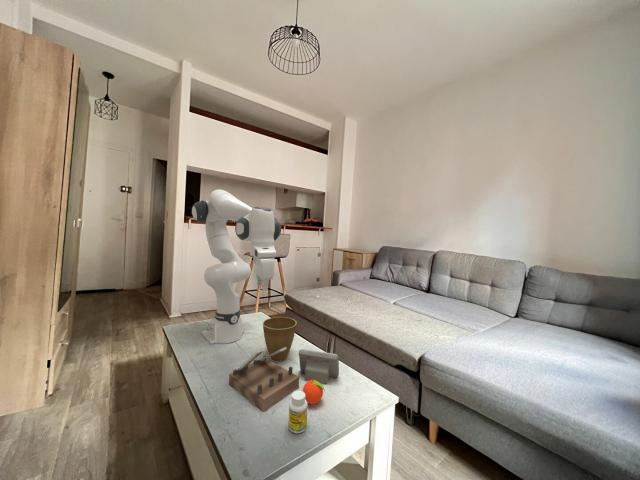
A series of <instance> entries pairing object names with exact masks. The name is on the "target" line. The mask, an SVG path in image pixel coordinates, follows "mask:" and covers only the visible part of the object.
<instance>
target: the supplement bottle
mask: <svg viewBox="0 0 640 480" xmlns="http://www.w3.org/2000/svg"><path fill="white" fill-rule="evenodd" d="M307 427H308V402H307V401H306V400H305V393H304V392H303V390H294V391H293V392H291V399H290V401H289V403H288V429H289V431H290V432H291V433H294V434H300V433H303V432H305V430H306V429H307Z"/></svg>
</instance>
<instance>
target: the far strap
mask: <svg viewBox="0 0 640 480" xmlns="http://www.w3.org/2000/svg"><path fill="white" fill-rule="evenodd" d="M285 349H287V348H286V347H284V348H282V349H280V350H278V351H276V352H274V353H272V354H270V355H269V354H268V355H266V357H264V358H263V357H261V358H262V359H261V358H259V359H260V360H259V359H257V360H258V362H260V361H263V360H265V359H270V357H271V356H273V355H275V354H277V353H279V352H281V351H283V350H285Z"/></svg>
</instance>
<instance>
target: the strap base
mask: <svg viewBox="0 0 640 480" xmlns="http://www.w3.org/2000/svg"><path fill="white" fill-rule="evenodd" d="M266 356H267V355H265V354H264V355H263V357H261V358H259V359H255V360H254V361H253V362H251V363H250V364H249V365H248V366H247V367H246V368H245V369H244V370H242V371H240V372H238V373H237V370H238V369H236V368H235V369H233V370H232V372H229V373H228V385H229V386H230V387H231V388H233V389H234V390H235V391H236V392H238V393H239V394H241V395H242V396H243V397H244V398H245V399H246V400H248V401H249V402H250V403H252V404H253V405H254V406H255V407H257V408H258V409H259V410H261V412H265V411H266V410H268V409H270V408H271V407H273V406H274V405H275V404H277V403H278V402H279V401H281V400H283V399H284V398H286V396H288V395H289V394H292V393H293V392H295V391H297V389H298V388H299V387H300V385H299V384H300V376H299V375H296V373H293V369H294V367H293V366H291V365H290V366H288V369H286V368H285V367H282V366H281V365H279V364H277V362H275V361H272V360H271V359H270V358H267V359H265V360H263V361H260V362H258V360H260V359H262V358H264V357H266Z"/></svg>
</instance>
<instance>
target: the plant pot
mask: <svg viewBox="0 0 640 480" xmlns="http://www.w3.org/2000/svg"><path fill="white" fill-rule="evenodd" d="M262 329H263V336H264V337H263V338H264V343H265V347H266V350H267V353H268V355H270V354H272V353H274V352H276V351H278V350H280V349H282V348H284V347H286V348H287V349H285V350H283V351H281V352H279V353H277V354H275V355H273V356H271V357H269V360H270V361H272V362H274V363H280V362H284V361H286V359H287V357H288V356H289V353H290V351H291V348H292V345H293V341H294V337H295V333H296V330H297V320H295V319H294V318H291V317H286V316H285V317H284V316H276V317H269V318H266V319H265V320H264V321H263V322H262Z"/></svg>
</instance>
